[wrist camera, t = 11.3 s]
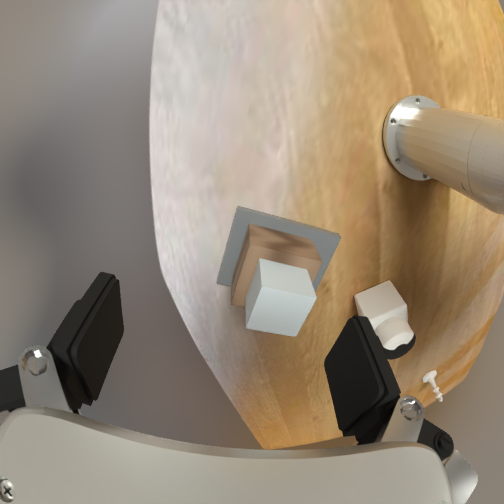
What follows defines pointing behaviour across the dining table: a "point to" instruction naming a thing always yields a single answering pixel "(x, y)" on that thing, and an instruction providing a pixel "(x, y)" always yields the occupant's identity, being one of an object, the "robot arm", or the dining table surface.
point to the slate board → (244, 216)
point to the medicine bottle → (387, 318)
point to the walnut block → (271, 257)
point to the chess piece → (432, 383)
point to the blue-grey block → (278, 298)
